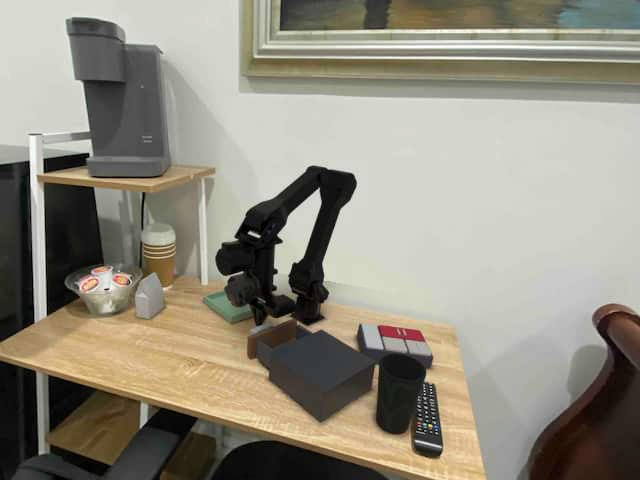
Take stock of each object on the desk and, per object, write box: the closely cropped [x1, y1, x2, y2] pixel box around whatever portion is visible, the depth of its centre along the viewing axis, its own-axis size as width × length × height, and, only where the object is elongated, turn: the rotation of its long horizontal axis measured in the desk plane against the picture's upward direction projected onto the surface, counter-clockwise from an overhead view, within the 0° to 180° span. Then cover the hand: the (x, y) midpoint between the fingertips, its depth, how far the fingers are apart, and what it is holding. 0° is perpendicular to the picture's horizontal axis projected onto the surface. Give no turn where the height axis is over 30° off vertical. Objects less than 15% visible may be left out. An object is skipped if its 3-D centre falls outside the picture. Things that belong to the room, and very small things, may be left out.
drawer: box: [246, 317, 313, 369], centre depth 85 cm, size 18×13×5 cm
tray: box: [202, 289, 253, 324], centre depth 108 cm, size 14×14×2 cm
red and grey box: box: [356, 323, 434, 370], centre depth 90 cm, size 11×4×15 cm
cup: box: [375, 353, 428, 435], centre depth 67 cm, size 8×8×12 cm
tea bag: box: [134, 271, 165, 320], centre depth 100 cm, size 4×7×10 cm, turn 164°
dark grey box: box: [268, 328, 377, 423], centre depth 77 cm, size 15×15×7 cm
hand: (258, 326), depth 91 cm, fingers closed
